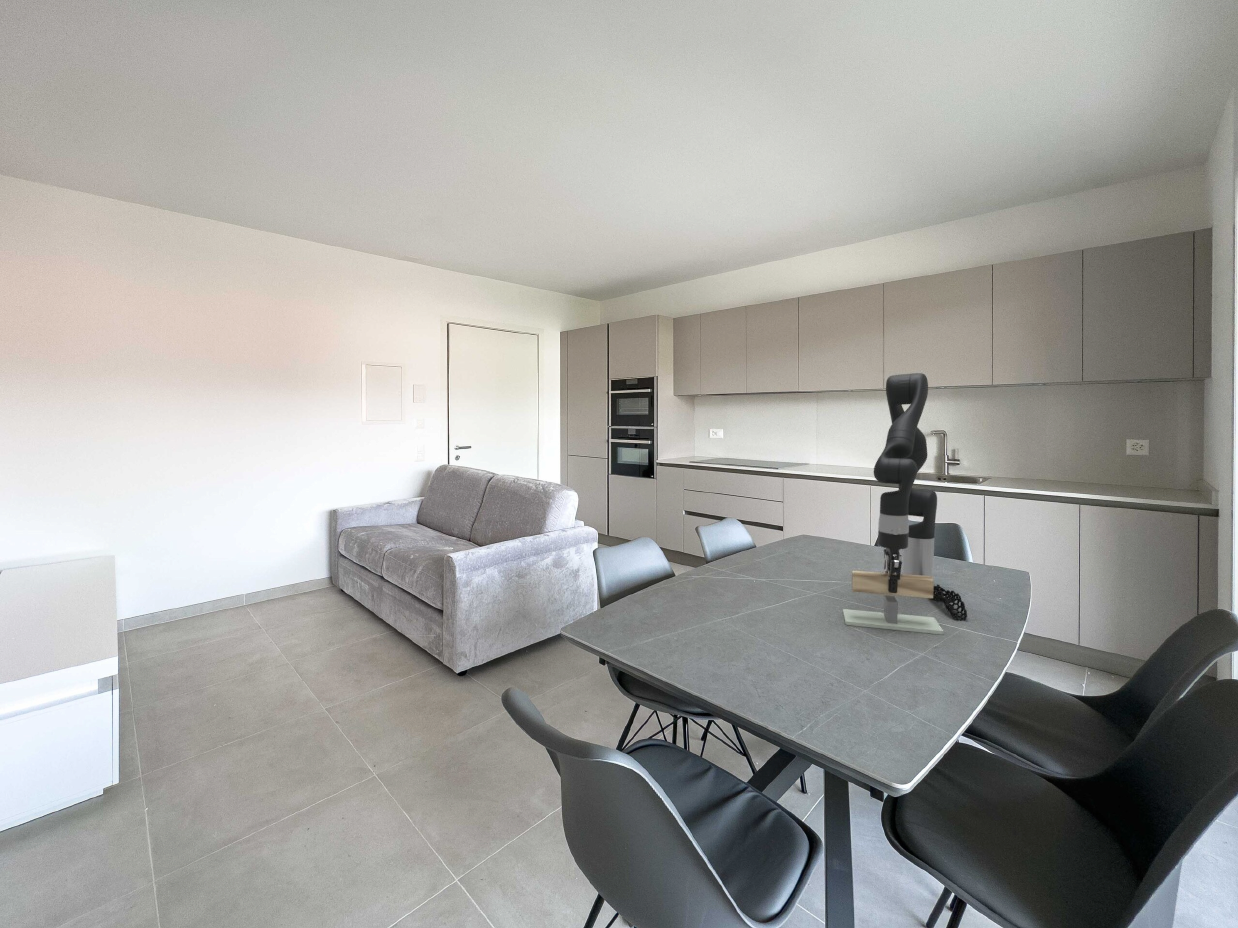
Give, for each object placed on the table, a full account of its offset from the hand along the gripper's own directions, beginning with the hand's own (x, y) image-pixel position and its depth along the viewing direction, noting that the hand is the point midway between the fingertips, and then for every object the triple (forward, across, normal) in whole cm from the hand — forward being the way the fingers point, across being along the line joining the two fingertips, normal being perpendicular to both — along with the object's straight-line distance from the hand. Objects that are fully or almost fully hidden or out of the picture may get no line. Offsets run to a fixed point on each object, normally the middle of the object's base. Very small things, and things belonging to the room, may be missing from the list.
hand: (891, 589), depth 150 cm
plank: (+1, 0, 0) cm, 1 cm away
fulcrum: (+10, 0, 0) cm, 10 cm away
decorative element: (+10, -18, +18) cm, 27 cm away
